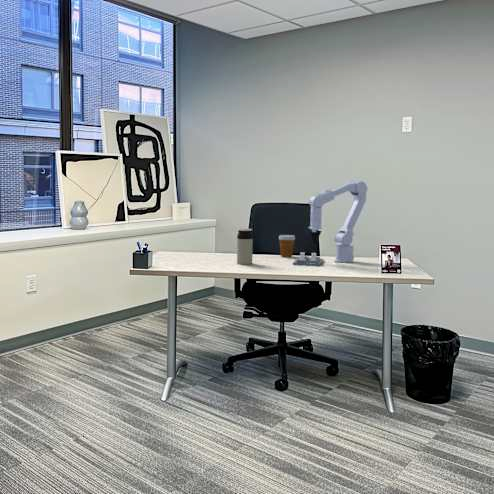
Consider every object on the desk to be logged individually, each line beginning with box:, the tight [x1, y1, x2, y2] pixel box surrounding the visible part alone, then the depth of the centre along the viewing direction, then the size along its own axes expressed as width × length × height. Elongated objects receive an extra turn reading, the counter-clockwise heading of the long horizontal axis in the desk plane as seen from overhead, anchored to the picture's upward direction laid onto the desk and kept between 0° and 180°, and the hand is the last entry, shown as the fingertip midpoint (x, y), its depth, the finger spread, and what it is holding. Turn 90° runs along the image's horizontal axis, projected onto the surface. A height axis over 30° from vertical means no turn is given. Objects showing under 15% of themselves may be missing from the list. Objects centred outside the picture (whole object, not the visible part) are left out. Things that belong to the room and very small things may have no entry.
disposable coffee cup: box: [278, 234, 296, 258], centre depth 319 cm, size 10×10×12 cm
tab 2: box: [310, 252, 317, 261], centre depth 293 cm, size 2×4×4 cm, turn 167°
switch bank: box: [292, 256, 325, 267], centre depth 297 cm, size 14×18×2 cm
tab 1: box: [299, 252, 306, 260], centre depth 295 cm, size 2×4×4 cm, turn 167°
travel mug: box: [236, 228, 254, 266], centre depth 292 cm, size 8×8×18 cm
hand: (315, 244), depth 298 cm, fingers closed
